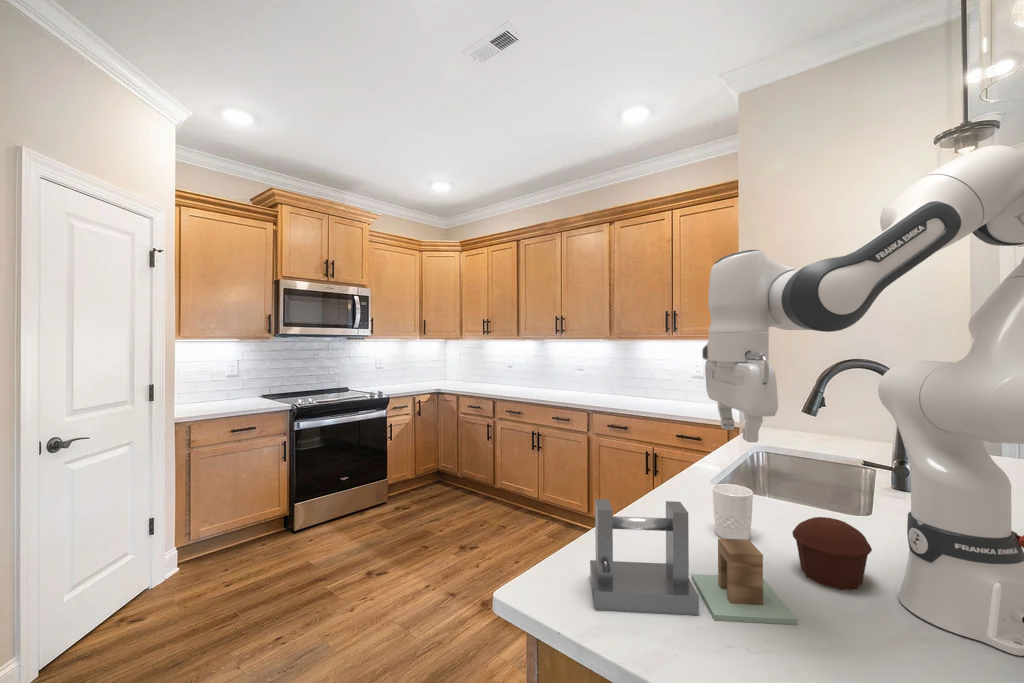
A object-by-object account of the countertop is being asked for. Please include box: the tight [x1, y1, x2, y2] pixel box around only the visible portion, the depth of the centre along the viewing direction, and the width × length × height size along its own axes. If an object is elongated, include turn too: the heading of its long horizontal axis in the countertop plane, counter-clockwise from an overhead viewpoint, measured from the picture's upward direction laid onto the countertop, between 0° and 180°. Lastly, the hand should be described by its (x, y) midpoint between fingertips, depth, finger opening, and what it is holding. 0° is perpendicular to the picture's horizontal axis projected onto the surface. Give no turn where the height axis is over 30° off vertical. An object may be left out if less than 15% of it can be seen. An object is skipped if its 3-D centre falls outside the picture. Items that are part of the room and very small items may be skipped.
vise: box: [589, 498, 700, 616], centre depth 76 cm, size 16×10×15 cm, turn 84°
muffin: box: [792, 516, 873, 591], centre depth 81 cm, size 12×11×10 cm
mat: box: [690, 573, 799, 626], centre depth 74 cm, size 12×12×1 cm
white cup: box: [712, 483, 754, 541], centre depth 98 cm, size 8×8×10 cm
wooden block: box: [717, 537, 764, 605], centre depth 74 cm, size 5×5×8 cm
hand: (738, 434), depth 74 cm, fingers open, 8 cm apart
